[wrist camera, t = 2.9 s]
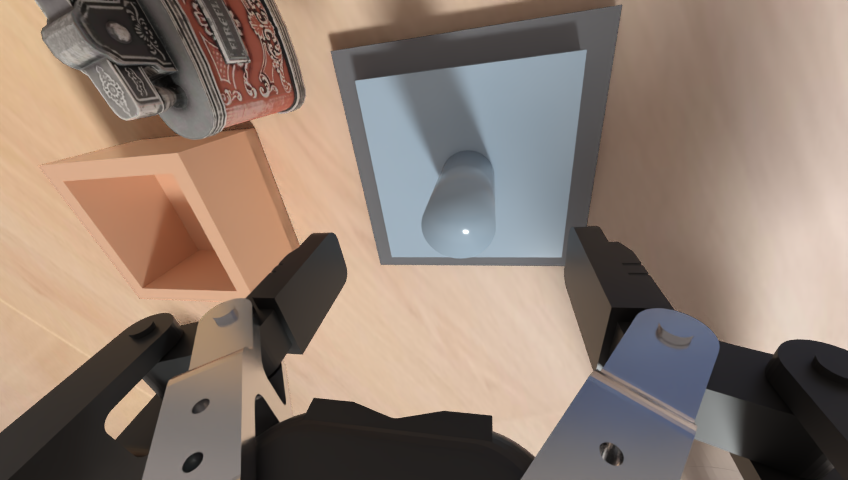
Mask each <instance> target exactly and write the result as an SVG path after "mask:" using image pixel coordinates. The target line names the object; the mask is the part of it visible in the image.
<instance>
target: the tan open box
mask: <svg viewBox="0 0 848 480" xmlns="http://www.w3.org/2000/svg"><path fill="white" fill-rule="evenodd" d="M38 166H39V168H40V169H41V170H42V172H43V173H44V174H45V175H46V177H47V178H48V179H49V181H50V182H51V183H52V185H53V186H54V187H55V189H56V190H57V191H58V193H59V194H60V195H61V196H62V198H63V199H64V200H65V202H66V203H67V204H68V206H69V207H70V208H71V210H72V211H73V212H74V213H75V215H76V216H77V217H78V219H79V220H80V221H81V223H82V224H83V225H84V227H85V228H86V229H87V230H88V232H89V233H90V234H91V236H92V237H93V238H94V240H95V241H96V242H97V244H98V245H99V246H100V247H101V249H102V250H103V251H104V253H105V254H106V255H107V257H108V258H109V259H110V261H111V262H112V263H113V265H114V266H115V267H116V268H117V270H118V271H119V272H120V274H121V275H122V276H123V278H124V279H125V280H126V282H127V283H128V284H129V285H130V287H131V288H132V289H133V291H134V292H135V293H136V295H137V296H138V297H139V299H159V300H184V301H209V302H226V301H228V300H231V299H236V298H246V297H247V296H248V295H249V294H250V293H251V292H252V291H253V290H254V289H255V288H256V287H257V286H258V284H259V283H260V282H261V281H262V280H263V279H264V278H265V277H266V276H267V275H268V274H269V273H271V271H272V270H273V269H274V268H275V267H276V266H277V265H279V263H280V262H281V260H282V259H283V258H284V257H285V256H286V255H287V254H289V253H290V252H292V251H294V250H295V249H297V248H298V247H300V246H299V243H298V240H297V238H296V235H295V233H294V230H293V227H292V225H291V222H290V219H289V217H288V214H287V212H286V209H285V206H284V204H283V201H282V198H281V196H280V193H279V191H278V188H277V185H276V183H275V180H274V177H273V175H272V172H271V170H270V167H269V164H268V162H267V159H266V156H265V154H264V151H263V149H262V146H261V143H260V141H259V138H258V135H257V133H256V130H255V128H248V129H238V130H229V131H221V132H219V133H217V134H216V135H213V136H210V137H207V138H203V139H197V140H192V139H188V138H184V137H182V136H172V137H163V138H153V139H144V140H137V141H133V142H129V143H125V144H121V145H117V146H113V147H109V148H105V149H101V150H97V151H93V152H89V153H86V154H82V155H78V156H74V157H70V158H66V159H62V160H58V161H54V162H50V163H46V164H42V165H38Z"/></svg>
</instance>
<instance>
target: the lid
mask: <svg viewBox="0 0 848 480" xmlns="http://www.w3.org/2000/svg"><path fill="white" fill-rule="evenodd" d="M586 53H587V50H575V51H568V52H560V53H553V54H545V55H538V56H530V57H523V58H516V59H508V60H501V61H493V62H486V63H478V64H471V65H464V66H456V67H449V68H441V69H434V70H426V71H419V72H411V73H404V74H397V75H389V76H382V77H374V78H367V79H361V80H356V81H355V84H356V89H357V93H358V98H359V103H360V108H361V112H362V117H363V122H364V127H365V131H366V136H367V141H368V146H369V151H370V155H371V160H372V165H373V170H374V174H375V179H376V184H377V189H378V193H379V198H380V203H381V208H382V213H383V217H384V222H385V227H386V232H387V236H388V241H389V246H390V251H391V255H392V257H451V258H469V257H562V250H563V242H564V234H565V226H566V218H567V209H568V201H569V193H570V185H571V176H572V168H573V160H574V152H575V143H576V135H577V127H578V119H579V111H580V102H581V94H582V86H583V78H584V69H585V61H586Z"/></svg>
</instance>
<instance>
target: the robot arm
mask: <svg viewBox="0 0 848 480" xmlns="http://www.w3.org/2000/svg"><path fill="white" fill-rule="evenodd" d="M564 277H565V285H566V288H567V291H568V295H569V298H570V301H571V304H572V307H573V310H574V313H575V316H576V319H577V322H578V325H579V328H580V331H581V334H582V338H583V341H584V344H585V347H586V350H587V353H588V356H589V359H590V362H591V365H592V368H593V372H592V373H591V374H590V376H589V377H588V379H587V380H586V382H585V383H584V385H583V386H582V388H581V389H580V391H579V392H578V394H577V395H576V397H575V398H574V400H573V401H572V403H571V404H570V406H569V407H568V409H567V410H566V412H565V413H564V415H563V416H562V418H561V419H560V421H559V422H558V424H557V425H556V427H555V428H554V430H553V431H552V433H551V434H550V436H549V437H548V439H547V441H546V442H545V444H544V445H543V447H542V448H541V450H540V451H539V453H538V454H537V456H536V457H534V456H533V455H532V454H531V453H530V452H528V451H527V450H526V449H525V448H523V447H522V446H520V445H519V444H517V443H516V442H514V441H513V440H511V439H509V438H507V437H505V436H503V435H501V434H498V433H496V432H493V431H492V416H490V415H480V414H470V413H460V412H449V411H440V412H434V413H428V414H422V415H416V416H410V417H403V418H391V417H388V416H386V415H383V414H381V413H378V412H376V411H374V410H371V409H369V408H367V407H364V406H362V405H359V404H357V403H355V402H349V401H339V400H329V399H319V398H313V400H312V402H311V404H310V406H309V408H308V410H307V413H304V414H300V415H297V416H293V411H292V404H291V397H290V390H289V382H288V375H287V368H286V364H285V362H284V360H283V359H284V357H285V356H286V354H287V353H288V354H303V353H304V351H305V349H306V348H307V346H308V344H309V343H310V341H311V339H312V338H313V336H314V334H315V333H316V331H317V329H318V328H319V326H320V324H321V323H322V321H323V319H324V318H325V316H326V314H327V313H328V311H329V309H330V308H331V306H332V304H333V303H334V301H335V299H336V298H337V296H338V294H339V293H340V291H341V289H342V288H343V286H344V284H345V282H346V279H347V267H346V264H345V261H344V258H343V254H342V251H341V248H340V245H339V242H338V239H337V237H336V235H335V234H334V233H313V234H311V235H310V236H309V237H308V238H307V239H306V240H305V241H304V242H303V243H302V244H301V245H300V247H298V248H297V249H295V250H294V251H292V252H290V253H289V254H287V255H286V256H285V257H284V258H283V259H282V260H281V262H280V263H279V265H277V266H276V267H275V268H274V269H273V270H272V271H271V273H269V274H268V275H267V276H266V277H265V278H264V279H263V280H262V281H261V282H260V283H259V284H258V286H257V287H256V288H255V289H254V290H253V291H252V292H251V293H250V294H249V295H248V296H247V297H246V298H236V299H231V300H228V301H226V302H223V303H221V304H219V305H217V306H215V307H214V308H212V309H211V310H209V311H208V312H207V313H206V314H205V315H204V316H203V317H202V318H201V319H200V321H199V322H195V323H191V324H186V325H181V326H180V325H179V324H178V322H177V321H176V320H175V318H174V317H173V316H172V315H171V314H169V313H160V314H156V315H152V316H149V317H147V318H144V319H142V320H140V321H138V322H136V323H135V324H133V325H131V326H130V327H128V328H127V329H126V330H124V331H123V332H122V333H121V334H119V335H118V336H117V337H116V338H114V339H113V340H112V341H111V342H110V343H108V344H107V345H106V346H105V347H104V348H102V349H101V350H100V351H99V352H98V353H96V354H95V355H94V356H93V357H91V358H90V359H89V360H88V361H87V362H85V363H84V364H83V365H82V366H81V367H79V368H78V369H77V370H76V371H75V372H73V373H72V374H71V375H70V376H69V377H67V378H66V379H65V380H64V381H62V382H61V383H60V384H59V385H58V386H56V387H55V388H54V389H53V390H52V391H50V392H49V393H48V394H47V395H46V396H44V397H43V398H42V399H41V400H39V401H38V402H37V403H36V404H35V405H33V406H32V407H31V408H30V409H29V410H27V411H26V412H25V413H24V414H23V415H21V416H20V417H19V418H18V419H16V420H15V421H14V422H13V423H12V424H10V425H9V426H8V427H7V428H6V429H4V430H3V431H2V432H1V433H0V480H848V351H847V350H845V349H842V348H839V347H836V346H833V345H830V344H826V343H822V342H817V341H812V340H798V339H797V340H789V341H786V342H784V343H782V344H781V345H780V346H779V347H778V349H777V350H776V352H775V353H774V355H773V354H769V353H765V352H761V351H756V350H752V349H748V348H744V347H740V346H736V345H732V344H728V343H725V342H721V341H718V339H717V337H716V335H715V334H714V333H713V332H712V331H711V330H710V329H709V328H708V327H707V326H706V325H705V324H703V323H702V322H700V321H699V320H697V319H695V318H693V317H691V316H689V315H687V314H684V313H681V312H678V311H675V310H674V309H673V307H672V306H671V305H670V303H669V302H668V300H667V299H666V297H665V296H664V295H663V293H662V292H661V290H660V289H659V288H658V286H657V285H656V283H655V282H654V281H653V279H652V278H651V276H650V275H648V272H647V271H646V269H645V268H644V266H641V262H640V261H639V259H638V258H637V256H636V255H635V254H634V252H633V251H631V250H630V249H628V248H627V247H625V246H624V245H622V244H621V243H619V242H608V240H607V239H606V237H605V235H604V234H603V232H602V230H601V229H600V227H598V226H588V227H571V228H570V231H569V237H568V245H567V252H566V260H565V268H564ZM141 379H143V380H144V381H145V382H146V383H147V384H148V385H149V386H150V387H151V388H152V389H153V391H154V392H155V393H156V395H155V396H154V397H153V398H152V399H151V401H150V402H149V403H148V404H147V405H146V406H145V407H144V408H143V409H142V411H141V412H140V413H139V414H138V415H137V416H136V417H135V418H134V420H133V421H132V422H131V423H130V424H129V425H128V426H127V427H126V429H125V430H124V431H123V432H122V433H121V434H120V435H119V436H118V437H117V439H116V440H114V439H113V438H112V437H111V436H109V435H108V434H107V433H106V431H105V428H104V424H105V420H106V417H107V416H108V414H109V412H110V411H111V410H112V409H113V408H114V407H115V406H116V405H117V404H118V403H119V402H120V401H121V400H122V399H123V398H124V397H125V396H126V395H127V394H128V392H129V391H130V390H131V389H132V388H133V387H134V386H135V385H136V384H137V383H138V382H139V381H140V380H141Z"/></svg>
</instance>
